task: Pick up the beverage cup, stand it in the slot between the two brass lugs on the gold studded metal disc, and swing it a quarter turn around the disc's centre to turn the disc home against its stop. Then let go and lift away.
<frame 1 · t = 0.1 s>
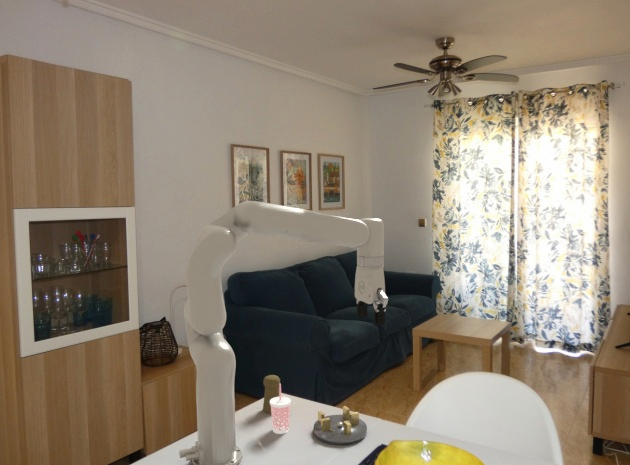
hand: (370, 321, 145), 31 cm above the table, tool pointing down, fingers open, 9 cm apart
beverage cup: (280, 431, 146), on the table
gold studded metal disc: (340, 424, 144), point 3 cm above the table, hinge at 0.0°
cork: (272, 411, 159), on the table
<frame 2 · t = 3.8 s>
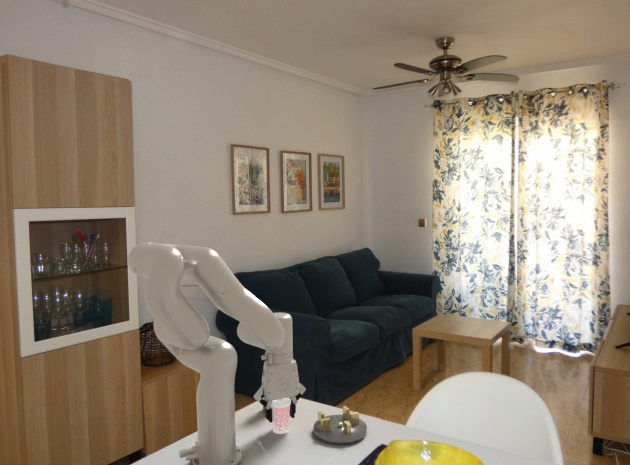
hand: (280, 417, 145), 4 cm above the table, tool pointing down, fingers closed on beverage cup, 6 cm apart
beverage cup: (280, 431, 146), on the table, touching gripper
everything else where it was.
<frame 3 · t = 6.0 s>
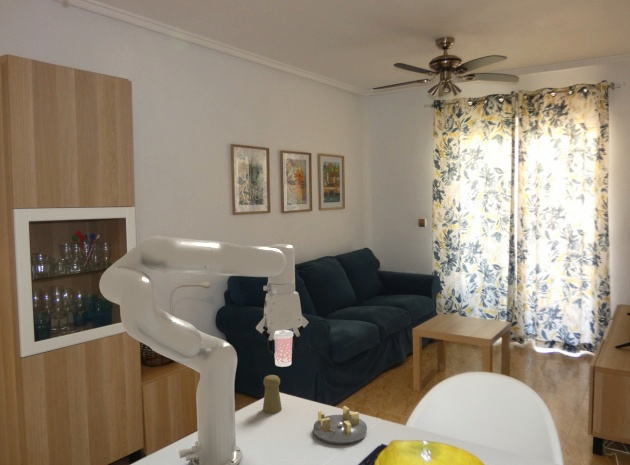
hand: (283, 350, 144), 24 cm above the table, tool pointing down, fingers closed on beverage cup, 6 cm apart
beverage cup: (283, 364, 144), point 19 cm above the table, touching gripper
everything else where it was.
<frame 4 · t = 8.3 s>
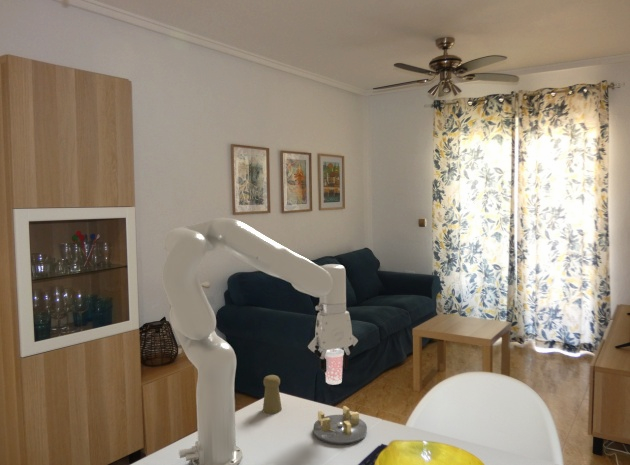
hand: (333, 368, 147), 17 cm above the table, tool pointing down, fingers closed on beverage cup, 6 cm apart
beverage cup: (333, 382, 147), point 13 cm above the table, touching gripper
everything else where it was.
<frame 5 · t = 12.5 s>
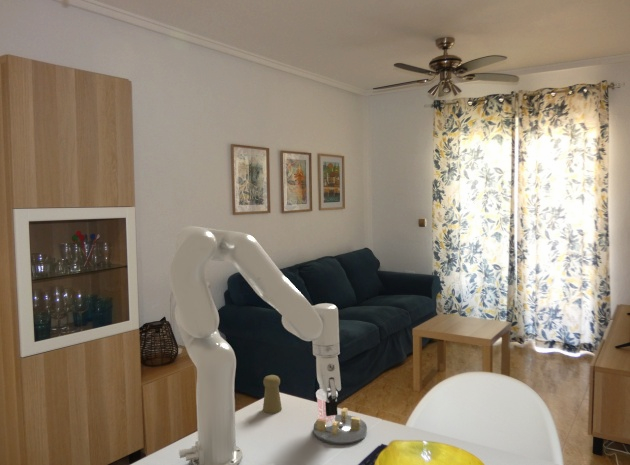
hand: (328, 409, 144), 7 cm above the table, tool pointing down, fingers closed on beverage cup, 6 cm apart
beverage cup: (326, 422, 145), point 3 cm above the table, touching gripper, gold studded metal disc
gold studded metal disc: (340, 424, 144), point 3 cm above the table, hinge at 48.0°, touching beverage cup
everything else where it was.
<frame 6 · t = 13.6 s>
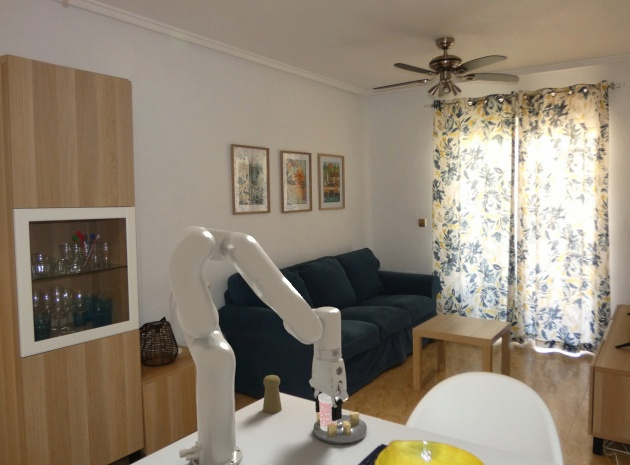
hand: (328, 414, 142), 6 cm above the table, tool pointing down, fingers closed on beverage cup, 6 cm apart
beverage cup: (328, 428, 142), point 2 cm above the table, touching gripper, gold studded metal disc
gold studded metal disc: (340, 424, 144), point 3 cm above the table, hinge at 88.6°, touching beverage cup
everything else where it was.
when the fingers open (6 cm above the table, at t = 13.6 s): beverage cup stays where it is, resting on gold studded metal disc.
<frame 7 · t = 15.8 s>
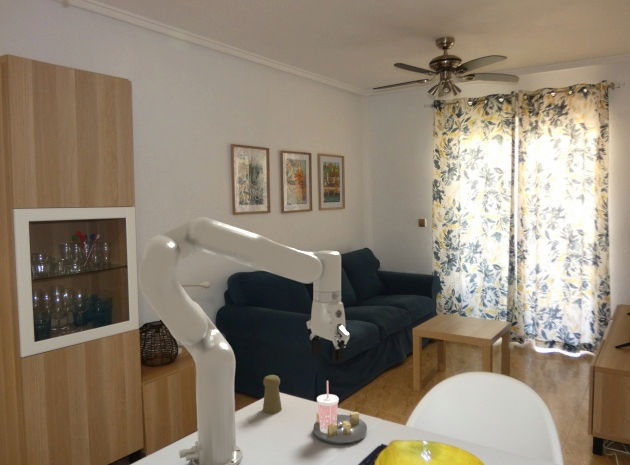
hand: (327, 357, 140), 23 cm above the table, tool pointing down, fingers open, 9 cm apart
beverage cup: (328, 430, 142), point 2 cm above the table, touching gold studded metal disc
gold studded metal disc: (340, 424, 144), point 3 cm above the table, hinge at 89.1°, touching beverage cup
everything else where it was.
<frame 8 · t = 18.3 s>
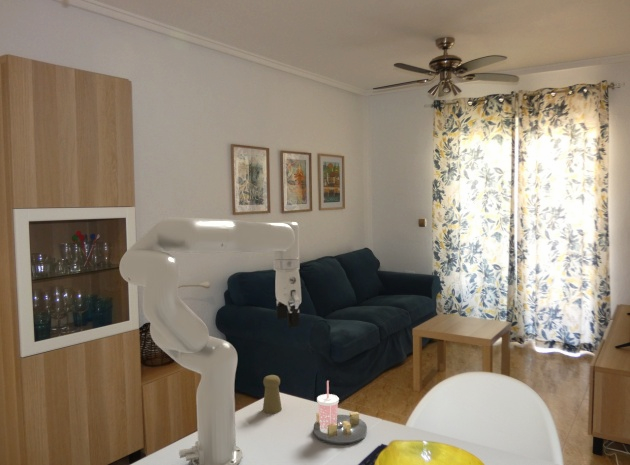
hand: (287, 322, 148), 30 cm above the table, tool pointing down, fingers open, 9 cm apart
nothing on the table moved.
at the end: gold studded metal disc at +89° (first picture: +0°); beverage cup tilted 0°; the gripper is holding nothing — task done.
